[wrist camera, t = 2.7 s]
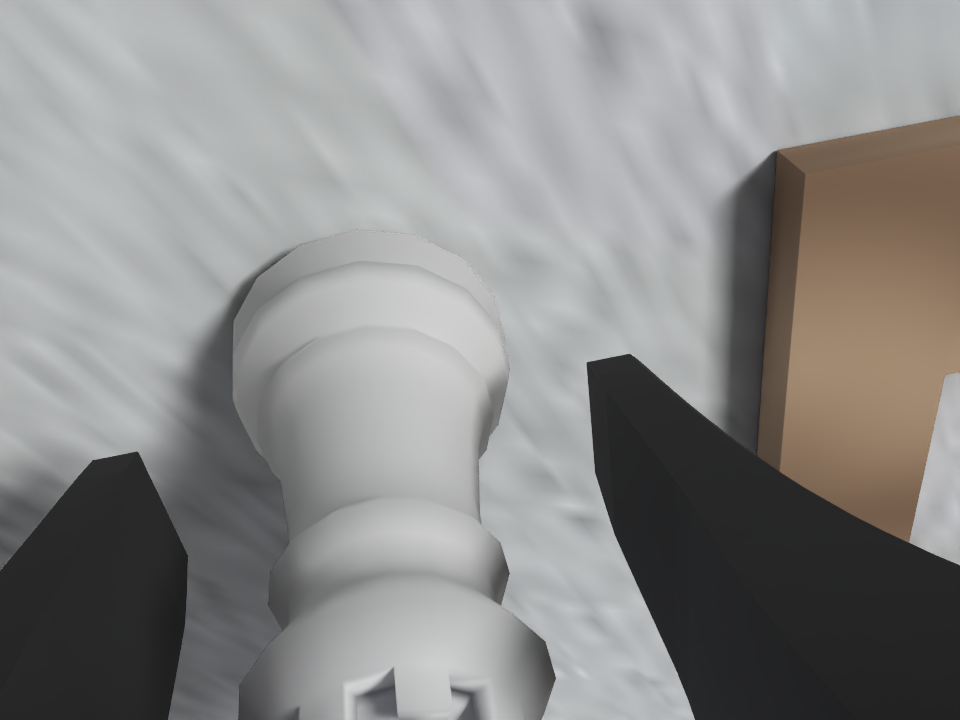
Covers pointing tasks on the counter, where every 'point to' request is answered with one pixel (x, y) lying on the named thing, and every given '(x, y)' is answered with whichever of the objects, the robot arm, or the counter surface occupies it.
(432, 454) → the rook chess piece
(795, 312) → the walnut socket board
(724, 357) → the counter surface
